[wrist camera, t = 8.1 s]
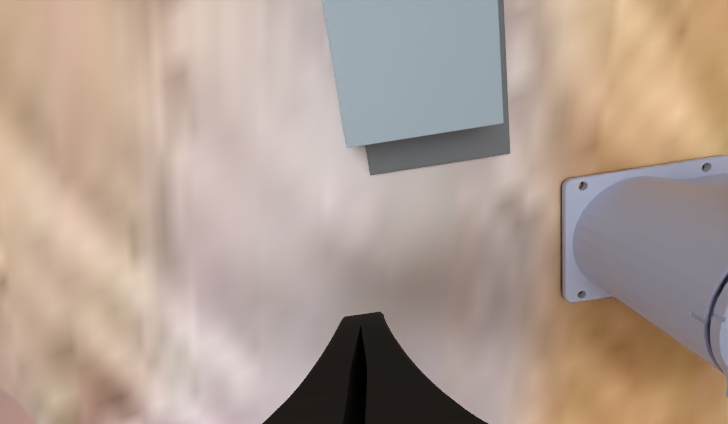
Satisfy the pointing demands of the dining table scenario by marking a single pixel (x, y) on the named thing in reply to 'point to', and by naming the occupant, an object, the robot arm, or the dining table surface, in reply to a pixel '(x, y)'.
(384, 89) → the slab
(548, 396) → the dining table surface
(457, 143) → the flat gray panel
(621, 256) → the robot arm
